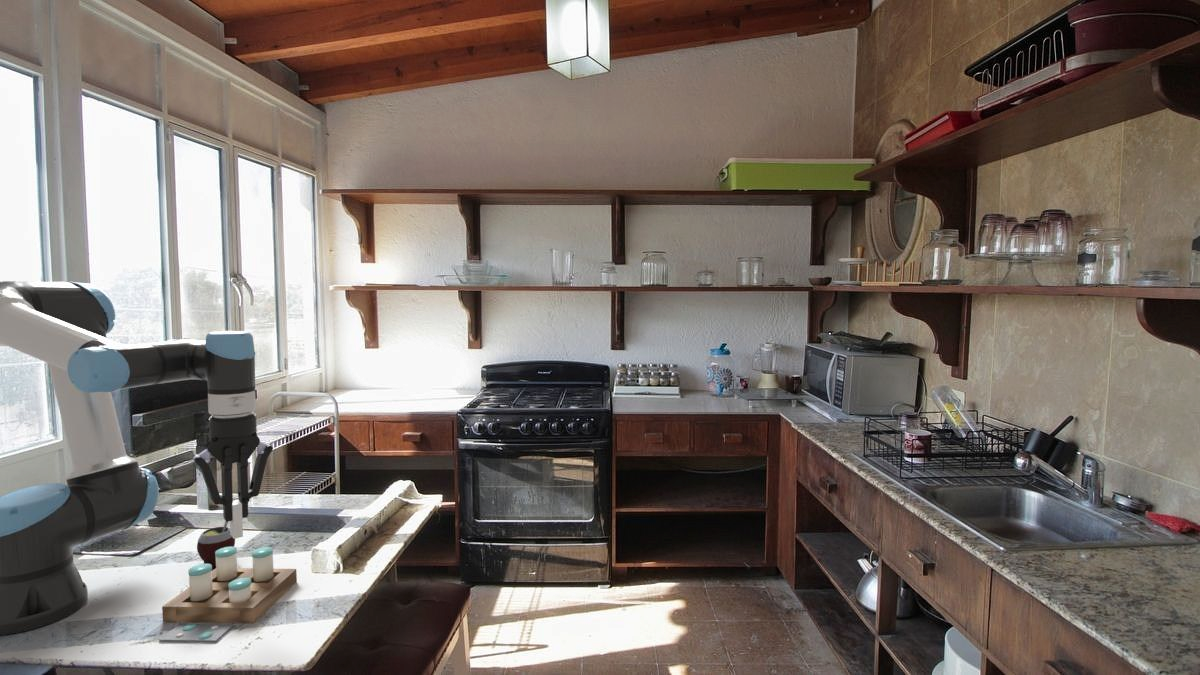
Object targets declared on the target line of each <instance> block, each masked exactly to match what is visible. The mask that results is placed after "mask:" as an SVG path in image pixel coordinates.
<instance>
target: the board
mask: <svg viewBox="0 0 1200 675" xmlns="http://www.w3.org/2000/svg"><path fill="white" fill-rule="evenodd" d="M273 573H274V576H273V577H272V578H271V579H269V580H266V581H262V582H256V581H254V580H253V567H252V568H251V567H250V568H249V567H248V568H246V567H245V568H244V567H237V574H238V575H237V577H235V578H233V579H231V580H228V581H217V576H216V568H215V569H214V570H213V571H212V585H213V595H212V596H211V597H209V598H207V599H205V600H201V601H191V600H190V586H189V587H187V588H186V589H184V590H183V591H182V592H180V593H179V594H178V595H176V596H174V598H172V599H171V600H170V601H168V602H166V603H165V604H164V605H162V606H161V610H162V613H161V614H162V623H199V624H254V623H256V622H257V621H258V620H259V619H260V618H261V617H262V616H263V615H264V614H265V613H266V612H267V611H268V610H270V608H272V606H274V605H275V604H276V603H277V602H278V601H279V600H280V599H282V597H283V596H284V595H285V594H287V592H289V591H290V590H291V589H292V588H293V587H294V586H295V585H296V584H297V583H298V581H297V580H298V578H297V575H298V574H297V568H273ZM239 578H250V579H251V598H250V599H249V600H248V601H247V602H246V603H229V589H228V584H229V583H230V582H231V581H233V580H236V579H239Z"/></svg>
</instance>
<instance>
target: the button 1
mask: <svg viewBox="0 0 1200 675" xmlns="http://www.w3.org/2000/svg"><path fill="white" fill-rule="evenodd" d="M188 582H189V583H188V585H189V587H190V600H191V601H201V600H205V599H207V598H209V597H211V596H212V595H213V585H212V565H211V564H203V563H201V564H197V565H194V566H192V567H190V568H189V569H188Z"/></svg>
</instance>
